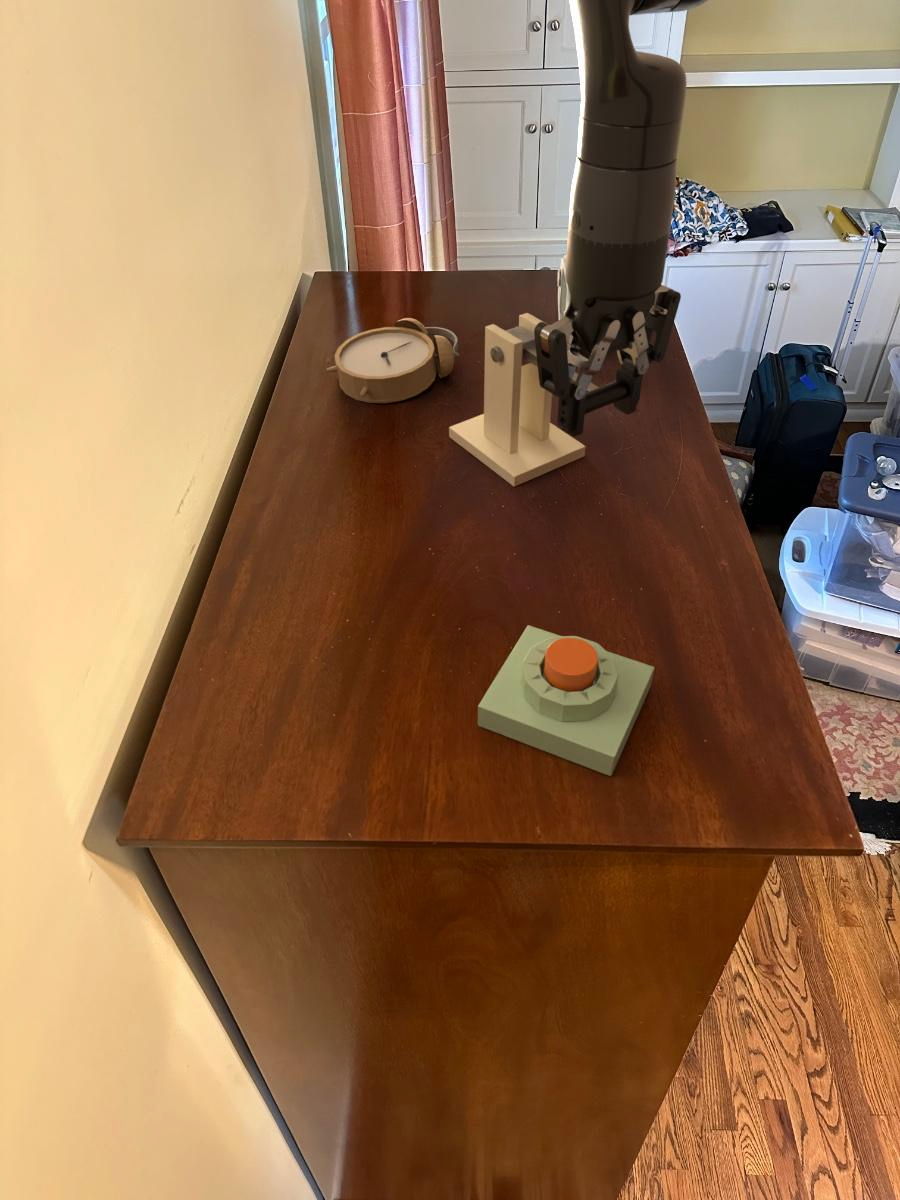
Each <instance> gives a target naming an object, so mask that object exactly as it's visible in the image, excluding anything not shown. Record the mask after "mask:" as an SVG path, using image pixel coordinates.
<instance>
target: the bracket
mask: <svg viewBox="0 0 900 1200" xmlns="http://www.w3.org/2000/svg"><path fill="white" fill-rule="evenodd" d="M540 322H544V321H543V320H541V319H539V318H537V317H536V316H534V315H532V314H530V313H528V312H526V313H525V312H524V313H523V314H520V315H519V316H518V326H522V327H524V328H526V329H527V330H529V331H530V332H532V333H533V334H534V329H535V327H536V325H537V324H538V323H540ZM544 323H546V322H544ZM484 329H485V330H484V382H483V383H484V384H483V385H484V386H483V387H484V388H483V391H484V392H483V413H482V414H480V415H477V416H474V417H472V418H468V419H467V420H463V421H461V422H459V423H456V424H453V425H451V426H449V427H448V437H449V438H450V439H451V440H452V441H454V442H455V443H456V444H457V445H459V446H460V447H462V448H463V449H464V450H466V451H467V452H468V453H469V454H471V455H472V456H473V457H475V458H476V459H477V460H479V462H481V463H483V464H484V465H485V466H487V467H488V469H490V470H491V471H493V472H494V473H496V475H497V476H499V477H500V478H502V479H503V480H505V482H507V483H508V484H510V485H511V486H512V487H517V486H519V485H522V484H524V483H526V482H528V481H530V480H533V479H536V478H537V477H540V476H542V475H544V474H547V473H549V472H551V471H554V470H556V469H559V468H560V467H563V466H565V465H567V464H570V463H572V462H575V461H577V460H579V459H581V458H584V457H585V454H586V445H585V444H583V443H581V442H580V441H578V440H577V439H576V438H575V437H573V436H572V435H570V434H568V433H567V432H565V431H564V430H563V429H560V428H559V427H557V426H556V425H555V424H553V423H552V422H551V418H552V417H551V415H552V404H553V403H552V402H553V394H551V393H550V392H548V391H547V390H545V389H543V388H542V387H541V386H540V383H539V373H538V367H536V366H535V365H533V364H532V363H529V364H526V365H524V366H522V348H523V341H521V340H519V339H518V338H516V337H514V336H513V335H511V334H509V333H508V332H506V330H505V329H503V328H501V327H499V326H498V325H496V324H494V323H492V324H489V325H486V326H485V327H484Z"/></svg>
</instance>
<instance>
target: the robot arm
mask: <svg viewBox="0 0 900 1200" xmlns="http://www.w3.org/2000/svg"><path fill="white" fill-rule="evenodd" d="M706 2H709V0H568V4H569V9H570V14H571V15H570V16H571V19H572V26H573V31H574V39H575V47H576V54H577V62H578V70H579V71H578V72H579V81H580V109H579V120H578V121H579V122H578V134H577V149H576V150H577V151H576V159H575V160H576V161H575V167H574V172H573V177H572V182H571V188H570V189H571V190H570V200H569V213H568V215H569V217H568V227H567V242H566V255H567V256H566V270H565V279H566V282H567V285H568V288H569V292H570V300H569V303H568V306H567V308H566V311H565V313H564V318H562V319H560V320H559V319H558V320H557V321H555V322H553V323H551V324H548V323H546V322H545V323H544V321H543V322H540V323H538V324H537V325H536V327H535V329H534V336H535V345H536V355H537V364H538V373H539V383H540V386H541V387H542V388H543V389H545V390H547V391H548V392H550V393H551V394H552V396H555V397H556V398H558V404H557V405H558V406H557V407H558V409H557V421H556V422H557V425H558V426H559V427H560V428H561V430H562V431H563V432H565V433H566V434H568V435H569V436H571V437H572V438H575V437H578V436H580V435H582V434H583V433H584V425H585V416H586V414H585V405H586V397H585V396H584V395H585V393H586V391H587V389H588V386H589V384H590V382H591V381H592V378H593V377H594V375H596V374H599V372H600V371H601V369H602V367H603V363H604V361H605V359H606V357H607V356H609V355H610V354H612V353H613V352H615V351H616V354H617V355H616V356H617V359H618V362H619V364H620V365H621V366H620V367H618V368H616V375H615V381H617V380H619V379H623V380H624V381H626V382H627V384H628V386H629V395H628V396H627V397H626V398H624V399H622V400H619V401H617V402H614V403H612V404H613V407H614V408H615V409H616V410H618V411H619V412H621V413H622V414H625V415H627V416H629V415H631V414H633V413H635V412H636V411H637V406H638V405H639V404H638V403H639V401H640V398H641V392H642V384H643V379H644V375H645V374H646V373H647V372H648V371H649V368H650V365H651V364H652V363H653V362H655V363H660V362H662V360H663V359H664V358H665V355H666V352H667V348H668V345H669V341H670V338H671V334H672V331H673V327H674V323H675V320H676V317H677V313H678V311H679V310H678V309H679V305H680V302H681V299H682V295H681V293H680V292H679V291H677V290H674V289H673V288H671V287H669V286H666V285H663V280H664V274H665V268H666V261H667V255H668V246H669V240H670V233H671V228H672V227H671V225H672V220H673V214H674V213H673V212H674V207H675V199H676V189H677V188H676V187H677V163H678V162H677V161H678V158H677V157H678V151H679V145H680V137H681V131H682V124H683V118H684V112H685V111H684V110H685V105H686V95H687V74H686V71H685V69H684V67H683V66H682V65H681V64H680V63H679V62H678V61H676V60H675V59H673V58H671V57H667V56H663V55H660V54H655V53H649V52H643V51H639V50H636V49H635V46H634V43H633V40H632V36H631V31H630V16H640V15H651V14H662V13H663V14H664V13H665V14H666V13H678V12H679V13H680V12H685V11H688V10H692V9H695V8H697V7H699V6H701V5H703V4H705V3H706ZM653 332H655V334H656V336H655V340H654V342H653V343H652V342H651V340H652V335H653ZM580 348H581V349H580ZM580 350H582V351H584V352H585V353H587V354H589V358H587V357H585V356H583V355H582V354H581V353H580ZM577 369H578V373H577V374H578V376H577V379H576V381H574V380H573V379H572V378H573V375H574V373H575V372H576V370H577Z"/></svg>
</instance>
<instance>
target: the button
mask: <svg viewBox="0 0 900 1200" xmlns="http://www.w3.org/2000/svg"><path fill="white" fill-rule="evenodd" d="M597 663H598V655H597V652H596V650H595V649H594V648H593V647H592V646H591V645H590V644H589V643H587V642H586V641H584V640H581V639H577V638H562V639H558V640H556V641H554V642H553V643H551V644H550V645H549V647H548V648H547V650H546V654H545V665H544V674H545V677H546V679H547V681H548V682H549V683H550V684H551V685H552V686H554V687H555V688H557V689H560V690H563V691H567V692H577V691H581V690H584V689H586V688H588V687H589V686H590V685H591V684H592V683H593V682H594V680H595V676H596V670H597Z"/></svg>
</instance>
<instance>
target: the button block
mask: <svg viewBox="0 0 900 1200" xmlns="http://www.w3.org/2000/svg"><path fill="white" fill-rule="evenodd" d="M562 638H577V639H581V640H584V641H586V642H587V643H589V644H590V645H591V646H592V647H593V648H594V649H595V650H596V652H597V655H598V663H597V670H596V676H595V680H594V682H593V683H592V684H591V685H590V686H589V687H588V688H586V689H584V690H581V691H577V692H567V691H563V690H560V689H557V688H555V687H554V686H552V685H551V684H550V683H549V682H548V681H547V679H546V677H545V674H544V665H545V654H546V650H547V648H548V647H549V645H550V644H551V643H553V642H554V641H556V640H558V639H562ZM654 672H655V666H653V665H649V664H647V663H643V662H641V661H638V660H634V659H633V658H632V659H631V658H628V657H626V656H622V655H619V654H616V653H613V652H611V651H608V650H606V649H605V648H603V646H601V644H599V643H598V642H596V641H593V640H590V639H586V638H583V637H580V636H578V635H564V636H563V635H559V634H556V633H553V632H550V631H547V630H545V629H541V628H538V627H535V626H532V625H528V624H527V626H526V627H525V629H524V631H523V632H522V634H521V636H520V637H519V639H518V641H517V642H516V644H515V645H514V648H512V651H511V652H510V654H509V655H508V657H507V658H506V660H505V661H504V664H503V665H502V666H501V668H500V669H499V671H498V673H497V674H496V676H495V677H494V680H493V681H492V683H491V684H490V685H489V688H488V689H487V691H486V692H485V694H484V696H483V697H482V699H481V701H480V702H479V704H478V705H477V726H478V727H480V728H482V729H486V730H489V731H491V732H494V733H496V734H499V735H501V736H503V737H507V738H509V739H512V740H514V741H517V742H519V743H522V744H525V745H528V746H530V747H532V748H535V749H538V750H540V751H542V752H545V753H549V754H551V755H553V756H556V757H558V758H560V759H561V758H562V759H564V760H567V761H569V762H572V763H574V764H576V765H578V766H579V765H580V766H581V767H585V768H588V769H590V770H593V771H595V772H598V773H601V774H603V775H606V776H608V777H612V776H613V773H614V772H615V769H616V766H617V764H618V762H619V760H620V758H621V755H622V753H623V751H624V748H625V746H626V743H627V741H628V740H629V737H630V735H631V733H632V730H633V728H634V725H635V723H636V721H637V718H638V716H639V714H640V712H641V709H642V707H643V705H644V703H645V700H646V698H647V696H648V694H649V691H650V689H651V686H652V681H653V677H654V674H655V673H654Z"/></svg>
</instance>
